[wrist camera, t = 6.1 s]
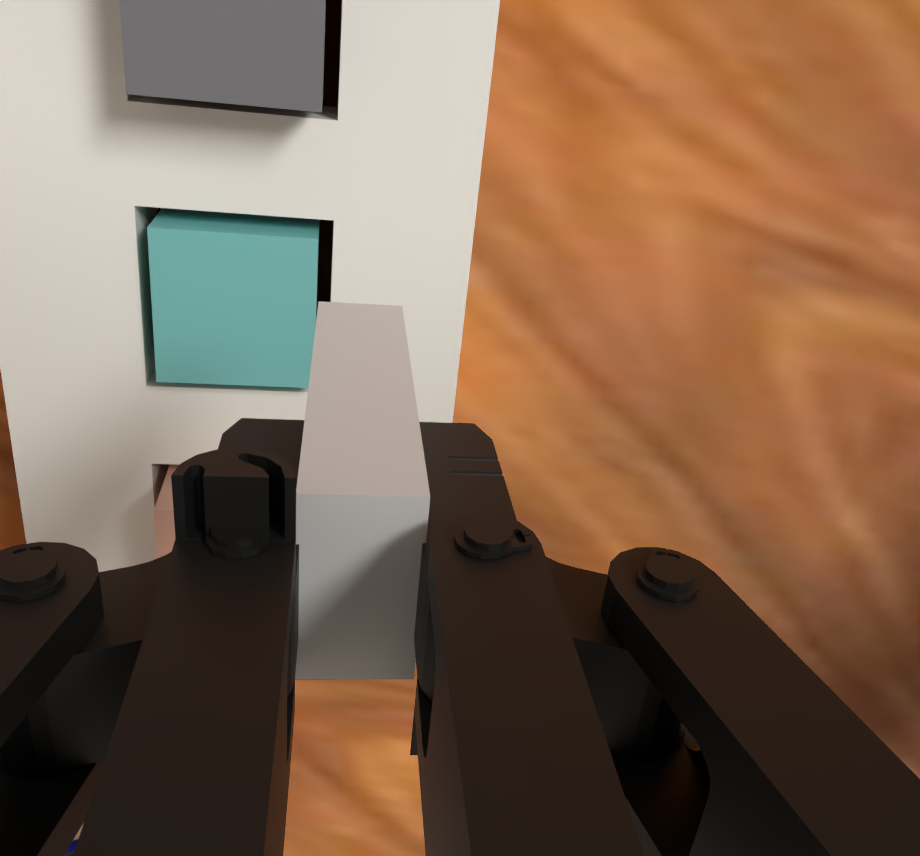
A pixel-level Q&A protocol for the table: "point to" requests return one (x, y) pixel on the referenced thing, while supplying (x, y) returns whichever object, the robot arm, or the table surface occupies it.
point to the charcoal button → (226, 51)
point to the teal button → (233, 297)
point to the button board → (217, 190)
